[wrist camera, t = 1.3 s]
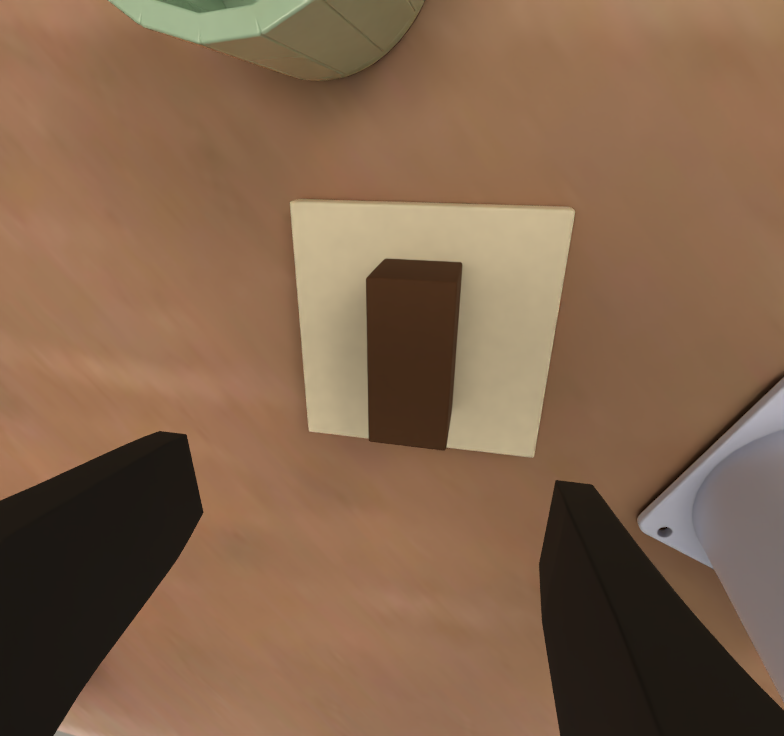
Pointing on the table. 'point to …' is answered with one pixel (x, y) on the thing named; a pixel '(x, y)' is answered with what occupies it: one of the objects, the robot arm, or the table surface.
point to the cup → (284, 30)
